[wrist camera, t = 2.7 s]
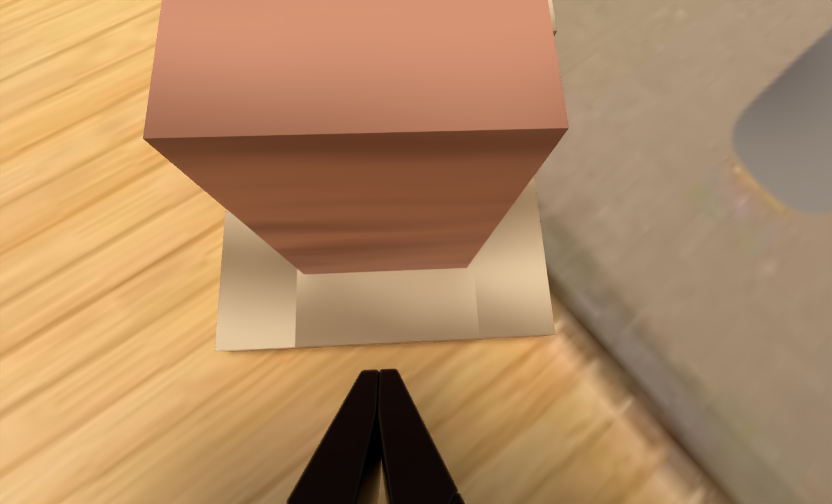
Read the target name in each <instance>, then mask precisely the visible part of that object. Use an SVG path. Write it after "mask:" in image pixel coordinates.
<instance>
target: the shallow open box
mask: <svg viewBox="0 0 832 504" xmlns="http://www.w3.org/2000/svg"><path fill="white" fill-rule="evenodd" d="M548 4H549V10H550V16H551V22H552V28H553V34H554V36H555V34H556V32H557V28H556V22H555V16H554V10H553V4H552V0H548ZM548 335H555V330H554V322H553V315H552V307H551V300H550V292H549V285H548V277H547V270H546V262H545V255H544V247H543V240H542V232H541V225H540V218H539V210H538V203H537V195H536V188H535V180H534V176H533V178H532V179H531V181H530V182H529V183H528V185H527V186H526V187H525V189H524V190H523V191H522V193H521V194H520V196H519V197H518V198H517V200H516V201H515V202H514V204H513V205H512V207H511V208H510V209H509V211H508V212H507V213H506V215H505V216H504V218H503V219H502V220H501V222H500V223H499V224H498V226H497V227H496V228H495V230H494V231H493V233H492V234H491V235H490V237H489V238H488V239H487V241H486V242H485V244H484V245H483V246H482V248H481V249H480V250H479V252H478V253H477V255H476V256H475V257H474V259H473V260H472V261H471V263H470V264H469V265H468V267H467V268H452V269H428V270H403V271H378V272H354V273H329V274H303V273H302V272H300V271H299V270H298V269H297V268H296V267H295V266H293V265H292V264H291V263H290V262H289V261H287V260H286V259H285V258H284V257H283V256H282V255H280V254H279V253H278V252H277V251H276V250H274V249H273V248H272V247H271V246H270V245H268V244H267V243H266V242H265V241H264V240H263V239H261V238H260V237H259V236H258V235H257V234H255V233H254V232H253V231H252V230H251V229H250V228H248V227H247V226H246V225H245V224H244V223H242V222H241V221H240V220H239V219H238V218H237V217H235V216H234V215H233V214H232V213H231V212H229V211H225V224H224V237H223V250H222V263H221V277H220V290H219V303H218V316H217V329H216V343H215V351H229V352H231V351H252V350H272V349H293V348H313V347H334V346H354V345H374V344H395V343H415V342H436V341H456V340H477V339H497V338H518V337H538V336H548Z"/></svg>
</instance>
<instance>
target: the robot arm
mask: <svg viewBox="0 0 832 504" xmlns="http://www.w3.org/2000/svg"><path fill="white" fill-rule="evenodd" d="M381 461H382V469H383V480H384V488H385V496H386V504H465V503H464V501H463V499H462V497H461V495H460V493H458V489H457V487H456V485H455V483H454V481H453V479H452V477H451V475H450V473H449V471H448V469H447V467H446V465H445V463H444V461H443V459H442V457H441V455H440V453H439V451H438V449H437V447H436V445H435V443H434V441H433V439H432V438H431V436H430V434H429V432H428V430H427V428H426V426H425V424H424V422H423V420H422V418H421V416H420V414H419V412H418V410H417V408H416V406H415V404H414V402H413V400H412V398H411V396H410V394H409V392H408V390H407V388H406V386H405V384H404V382H403V380H402V378H401V376H400V374H399V372H398V370H397V369H381V370H380V372H379V371H378V370H363V371H361V373H360V374H359V376H358V378H357V379H356V381H355V383H354V385H353V386H352V388H351V390H350V392H349V393H348V395H347V397H346V398H345V400H344V402H343V404H342V405H341V407H340V409H339V411H338V412H337V414H336V416H335V418H334V419H333V421H332V423H331V425H330V426H329V428H328V430H327V432H326V433H325V435H324V437H323V438H322V440H321V442H320V444H319V445H318V447H317V449H316V451H315V452H314V454H313V456H312V458H311V459H310V461H309V463H308V465H307V466H306V468H305V470H304V472H303V473H302V475H301V477H300V478H299V480H298V482H297V484H296V485H295V487H294V489H293V491H292V492H291V494H290V496H289V498H288V499H287V504H378V495H379V486H380V476H381Z"/></svg>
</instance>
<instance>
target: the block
mask: <svg viewBox="0 0 832 504" xmlns="http://www.w3.org/2000/svg"><path fill="white" fill-rule="evenodd" d="M568 128H569V126H568V120H567V114H566V108H565V102H564V95H563V89H562V83H561V77H560V71H559V65H558V59H557V53H556V46H555V40H554V34H553V28H552V22H551V16H550V10H549V4H548V0H162V4H161V11H160V19H159V26H158V33H157V40H156V48H155V55H154V62H153V70H152V77H151V84H150V91H149V99H148V106H147V113H146V120H145V128H144V135H143V139H144V140H145V141H147V142H148V143H149V144H150V145H151V146H152V147H154V148H155V149H156V150H157V151H158V152H160V153H161V154H162V155H163V156H164V157H165V158H167V159H168V160H169V161H170V162H171V163H173V164H174V165H175V166H176V167H177V168H178V169H180V170H181V171H182V172H183V173H184V174H186V175H187V176H188V177H189V178H190V179H192V180H193V181H194V182H195V183H196V184H197V185H199V186H200V187H201V188H202V189H203V190H205V191H206V192H207V193H208V194H209V195H210V196H212V197H213V198H214V199H215V200H216V201H218V202H219V203H220V204H221V205H222V206H223V207H225V208H226V209H227V210H228V211H229V212H231V213H232V214H233V215H234V216H235V217H237V218H238V219H239V220H240V221H241V222H242V223H244V224H245V225H246V226H247V227H248V228H250V229H251V230H252V231H253V232H254V233H255V234H257V235H258V236H259V237H260V238H261V239H263V240H264V241H265V242H266V243H267V244H268V245H270V246H271V247H272V248H273V249H274V250H276V251H277V252H278V253H279V254H280V255H282V256H283V257H284V258H285V259H286V260H287V261H289V262H290V263H291V264H292V265H293V266H295V267H296V268H297V269H298V270H299V271H300V272H302V273H303V274H329V273H354V272H378V271H403V270H428V269H452V268H467V267H468V265H469V264H470V263H471V261H472V260H473V259H474V257H475V256H476V255H477V253H478V252H479V250H480V249H481V248H482V246H483V245H484V244H485V242H486V241H487V239H488V238H489V237H490V235H491V234H492V233H493V231H494V230H495V228H496V227H497V226H498V224H499V223H500V222H501V220H502V219H503V218H504V216H505V215H506V213H507V212H508V211H509V209H510V208H511V207H512V205H513V204H514V202H515V201H516V200H517V198H518V197H519V196H520V194H521V193H522V191H523V190H524V189H525V187H526V186H527V185H528V183H529V182H530V181H531V179H532V178H533V176H534V175H535V174H536V172H537V171H538V170H539V168H540V167H541V165H542V164H543V163H544V161H545V160H546V159H547V157H548V156H549V154H550V153H551V152H552V150H553V149H554V148H555V146H556V145H557V144H558V142H559V141H560V139H561V138H562V137H563V135H564V134H565V133H566V131H567V130H568Z"/></svg>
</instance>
